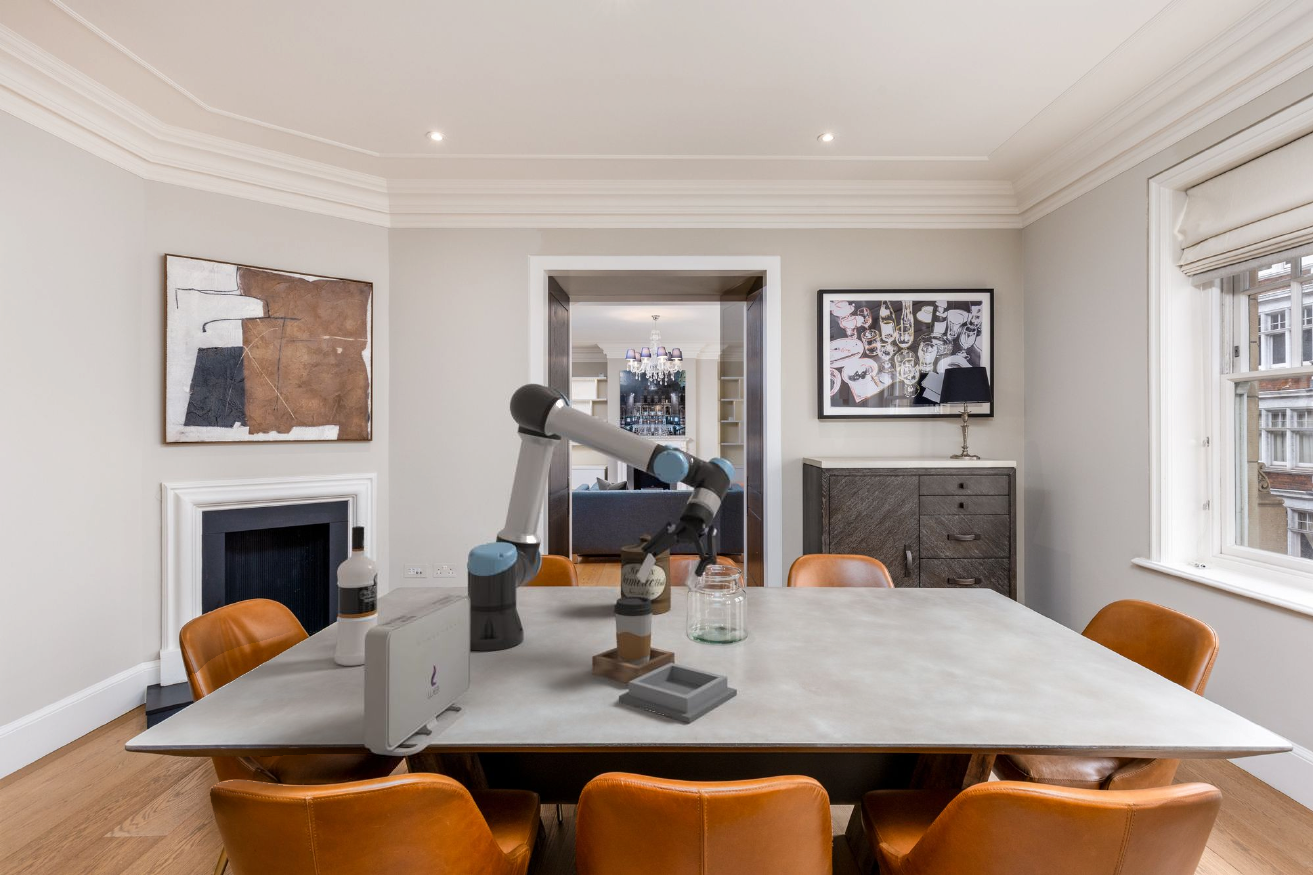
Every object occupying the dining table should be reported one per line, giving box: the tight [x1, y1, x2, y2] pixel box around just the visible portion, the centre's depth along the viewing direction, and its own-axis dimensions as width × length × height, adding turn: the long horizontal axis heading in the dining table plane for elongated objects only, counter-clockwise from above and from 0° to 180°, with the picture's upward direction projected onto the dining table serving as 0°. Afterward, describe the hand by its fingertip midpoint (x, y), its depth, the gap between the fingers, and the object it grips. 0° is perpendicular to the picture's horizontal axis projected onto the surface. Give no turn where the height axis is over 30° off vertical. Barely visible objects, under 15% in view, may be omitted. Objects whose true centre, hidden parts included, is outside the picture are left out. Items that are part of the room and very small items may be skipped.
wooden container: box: [620, 533, 672, 616], centre depth 188 cm, size 15×15×22 cm
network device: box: [363, 594, 471, 757], centre depth 107 cm, size 26×9×20 cm, turn 168°
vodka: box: [333, 525, 379, 667], centre depth 142 cm, size 9×9×30 cm
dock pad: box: [618, 663, 738, 724], centre depth 120 cm, size 16×16×4 cm
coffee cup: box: [613, 597, 653, 666], centre depth 135 cm, size 8×8×15 cm
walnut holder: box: [591, 646, 676, 685], centre depth 135 cm, size 12×12×4 cm
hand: (663, 583), depth 143 cm, fingers open, 13 cm apart
